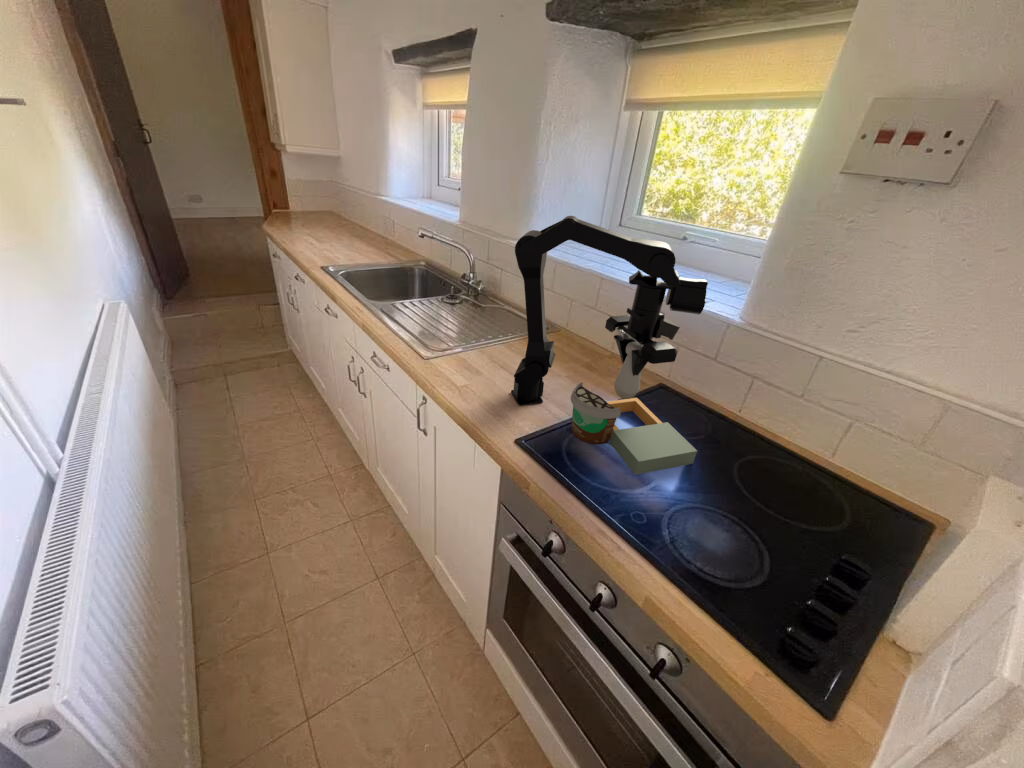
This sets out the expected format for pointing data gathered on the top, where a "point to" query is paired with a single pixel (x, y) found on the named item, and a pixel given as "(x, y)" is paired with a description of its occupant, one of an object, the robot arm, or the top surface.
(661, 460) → the orange and green frame
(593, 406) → the food container
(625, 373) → the salt shaker
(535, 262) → the robot arm
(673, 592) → the top surface
